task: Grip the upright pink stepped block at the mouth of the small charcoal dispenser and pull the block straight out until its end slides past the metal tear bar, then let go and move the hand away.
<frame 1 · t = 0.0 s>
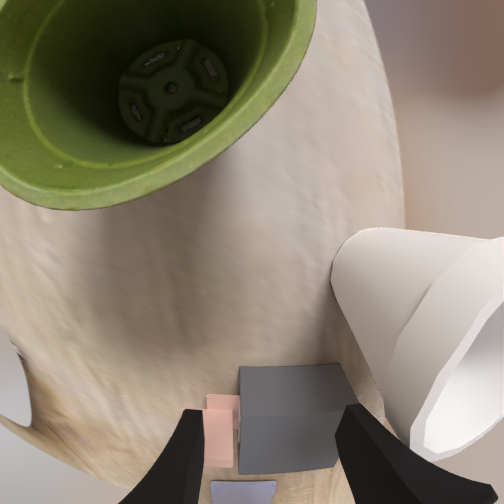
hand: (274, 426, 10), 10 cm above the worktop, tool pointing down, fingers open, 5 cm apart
dispenser: (285, 401, 22), on the worktop
plant pot: (173, 94, 16), on the worktop
foam cup: (370, 270, 19), on the worktop, touching gripper
pink stepped block: (249, 436, 18), point 4 cm above the worktop, slide at 0.0 cm
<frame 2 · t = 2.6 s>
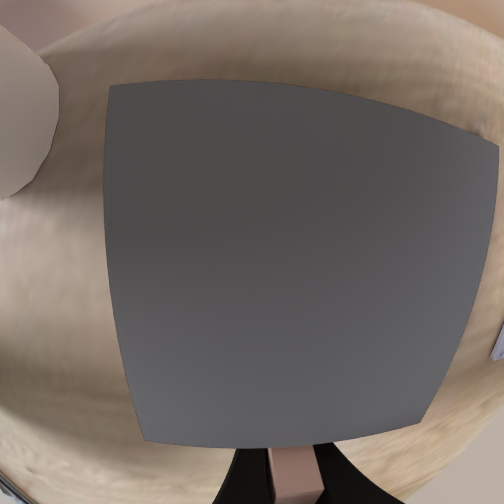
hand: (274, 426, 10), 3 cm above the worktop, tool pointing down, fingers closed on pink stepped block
dispenser: (283, 245, 10), on the worktop
foam cup: (10, 126, 8), on the worktop
pink stepped block: (292, 393, 7), point 4 cm above the worktop, slide at 0.0 cm, touching gripper
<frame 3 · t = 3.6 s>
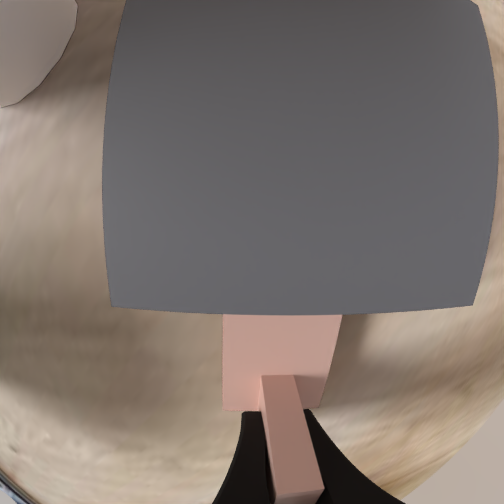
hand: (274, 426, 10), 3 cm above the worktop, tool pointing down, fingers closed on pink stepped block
dispenser: (291, 127, 9), on the worktop
foam cup: (24, 45, 7), on the worktop
pink stepped block: (292, 393, 7), point 4 cm above the worktop, slide at 4.1 cm, touching gripper
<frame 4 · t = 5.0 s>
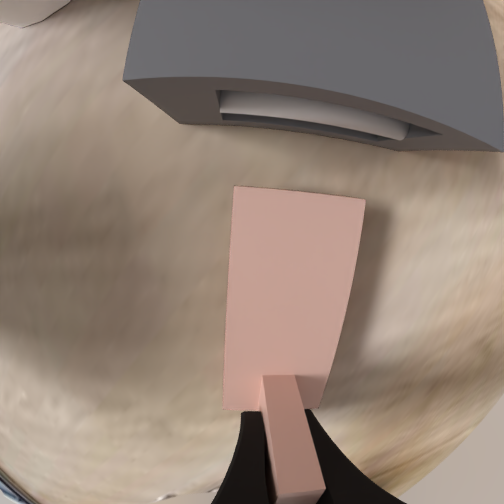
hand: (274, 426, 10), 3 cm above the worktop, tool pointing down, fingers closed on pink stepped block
dispenser: (304, 33, 8), on the worktop
pink stepped block: (294, 393, 7), point 4 cm above the worktop, slide at 8.0 cm, touching gripper
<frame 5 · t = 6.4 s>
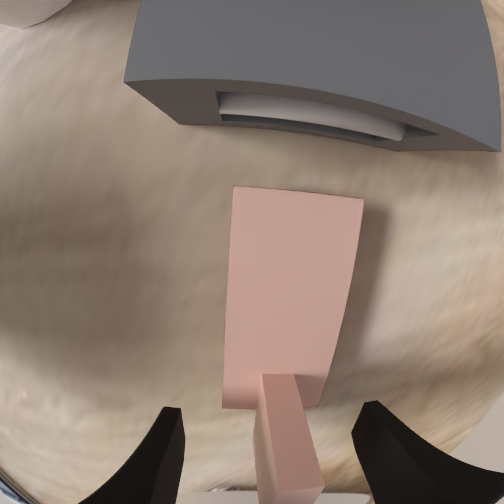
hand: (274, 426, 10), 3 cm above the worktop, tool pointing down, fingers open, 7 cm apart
dispenser: (303, 34, 8), on the worktop
pink stepped block: (294, 391, 7), point 4 cm above the worktop, slide at 8.0 cm
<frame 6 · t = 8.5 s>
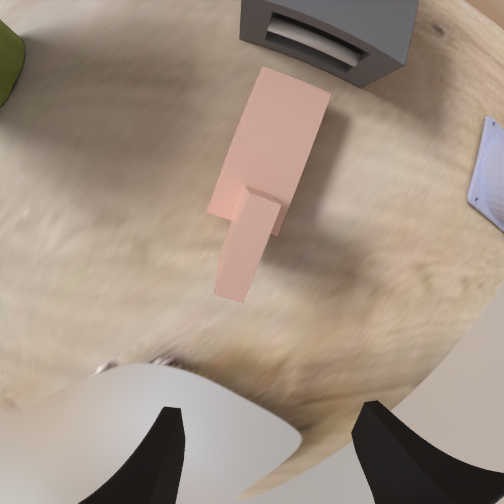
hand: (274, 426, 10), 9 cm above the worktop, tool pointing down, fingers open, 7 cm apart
dispenser: (320, 16, 13), on the worktop
pink stepped block: (269, 166, 12), point 4 cm above the worktop, slide at 8.0 cm
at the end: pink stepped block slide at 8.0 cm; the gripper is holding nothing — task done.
